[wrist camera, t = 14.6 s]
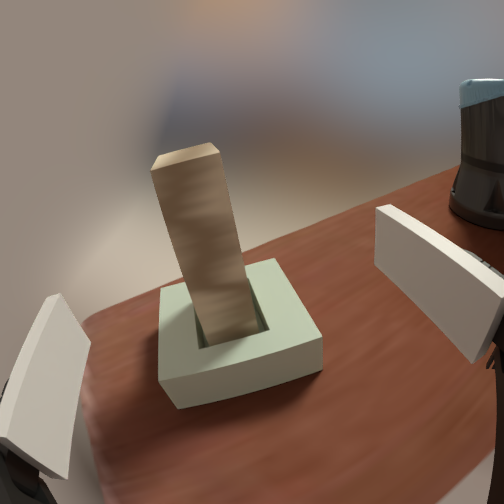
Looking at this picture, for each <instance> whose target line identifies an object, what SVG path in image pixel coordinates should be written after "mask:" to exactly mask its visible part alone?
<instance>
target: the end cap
mask: <svg viewBox="0 0 504 504" xmlns="http://www.w3.org/2000/svg"><path fill="white" fill-rule="evenodd" d="M245 271H246V275H247V280H248V284H249V289H250V293H251V298H252V302H253V307H254V311H255V315H256V320H257V324H258V329H259V333H258V334H255V335H251V336H248V337H244V338H241V339H237V340H233V341H230V342H226V343H222V344H218V345H214V346H209V344H208V341H207V339H206V336H205V334H204V331H203V329H202V326H201V324H200V321H199V318H198V316H197V313H196V310H195V308H194V305H193V302H192V300H191V297H190V294H189V291H188V289H187V286H186V283H185V282H183V283H179V284H175V285H172V286H168V287H164V288H161V294H160V313H159V340H158V382H159V383H160V385H161V386H162V388H163V389H164V391H165V392H166V394H167V395H168V396H169V398H170V399H171V401H172V402H173V403H174V405H175V406H176V408H177V409H182V408H187V407H192V406H197V405H202V404H207V403H211V402H216V401H220V400H224V399H228V398H232V397H236V396H240V395H244V394H248V393H251V392H255V391H258V390H262V389H265V388H269V387H272V386H275V385H279V384H282V383H285V382H288V381H291V380H294V379H297V378H300V377H303V376H306V375H309V374H312V373H315V372H317V371H320V370H323V342H322V335H321V333H320V332H319V330H318V328H317V327H316V325H315V323H314V322H313V320H312V318H311V317H310V315H309V314H308V312H307V310H306V309H305V307H304V305H303V304H302V302H301V300H300V299H299V297H298V295H297V294H296V292H295V291H294V289H293V287H292V286H291V284H290V282H289V281H288V279H287V278H286V276H285V274H284V273H283V271H282V269H281V268H280V266H279V265H278V263H277V261H276V260H275V258H272V259H268V260H265V261H261V262H258V263H254V264H250V265H246V266H245Z"/></svg>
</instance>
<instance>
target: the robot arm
mask: <svg viewBox="0 0 504 504" xmlns="http://www.w3.org/2000/svg"><path fill="white" fill-rule="evenodd" d="M459 90H460V105H459V108H461V164H460V167H459V170H458V173H457V175H456V178H455V181H454V184H453V187H452V189H451V191H450V200H449V206H450V208H451V209H452V210H453V211H454V212H455V213H456V214H457V215H459V216H460V217H462V218H463V219H465V220H467V221H469V222H472V223H474V224H477V225H480V226H483V227H487V228H492V229H498V230H504V80H502V79H472V80H466V81H463V83H461V85H460V89H459ZM374 265H375V266H377V267H378V268H379V269H380V270H381V271H382V272H383V273H384V274H385V275H386V276H387V277H388V278H389V279H390V280H391V281H392V282H393V283H395V284H396V285H397V286H398V287H399V288H400V289H401V290H402V291H403V292H404V293H405V294H406V295H407V296H408V297H409V298H410V299H411V300H412V301H413V302H414V303H415V304H416V305H417V306H418V307H419V308H420V309H421V310H422V311H423V312H424V313H425V314H426V315H427V316H428V317H429V318H430V319H431V320H432V321H433V322H434V323H435V324H436V325H437V327H438V328H439V329H440V330H441V331H442V332H443V333H444V334H445V335H446V336H447V337H448V338H449V339H450V340H451V341H452V343H453V344H454V345H455V346H456V347H457V348H458V349H459V350H460V351H461V352H462V353H463V355H464V356H465V357H466V358H467V359H468V360H469V361H470V362H471V364H473V363H474V362H476V361H477V360H478V359H480V358H481V357H482V356H483V355H485V354H486V352H487V350H488V348H489V346H490V344H491V342H492V341H493V342H494V343H495V344H496V347H495V349H494V351H493V353H492V355H491V357H490V358H489V360H488V362H487V364H486V369H489V367H490V365H491V364H492V362H493V360H494V361H495V363H494V365H493V367H492V369H495V373H496V392H497V424H496V443H495V455H494V464H493V472H492V479H491V485H490V490H489V496H488V501H487V504H504V275H502V274H501V273H500V272H498V271H497V270H496V269H494V268H493V267H492V268H491V266H490V265H489V264H488V263H486V262H485V261H484V262H483V260H482V259H481V258H479V257H478V256H476V255H475V254H474V253H472V252H469V251H467V250H464V249H462V248H459V247H458V246H457V245H455V244H454V243H452V242H451V241H449V240H448V239H446V238H445V237H443V236H441V235H440V234H438V233H437V232H435V231H434V230H432V229H431V228H429V227H427V226H426V225H424V224H423V223H421V222H419V221H418V220H416V219H414V218H413V217H411V216H409V215H408V214H406V213H404V212H403V211H401V210H399V209H397V208H396V207H394V206H392V205H391V204H389V205H385V206H381V207H377V208H376V228H375V259H374ZM90 344H91V342H90V340H89V339H88V337H87V336H86V334H85V333H84V331H83V329H82V328H81V326H80V325H79V323H78V322H77V320H76V318H75V317H74V315H73V313H72V312H71V310H70V308H69V307H68V305H67V303H66V302H65V300H64V298H63V296H62V295H61V293H59V294H56V295H52V296H49V297H47V298H46V300H45V302H44V304H43V306H42V308H41V310H40V312H39V314H38V315H37V317H36V319H35V321H34V323H33V325H32V327H31V329H30V332H29V334H28V336H27V338H26V340H25V342H24V344H23V347H22V349H21V351H20V354H19V356H18V358H17V361H16V363H15V366H14V368H13V370H12V373H11V376H10V378H9V379H8V381H7V382H6V384H5V386H4V389H3V392H2V397H1V398H0V504H57V502H56V500H55V499H54V497H53V495H52V494H51V492H50V490H49V488H48V487H47V485H46V483H45V482H44V481H43V479H41V478H40V477H39V471H41V472H42V473H44V474H45V475H47V476H49V477H50V478H55V479H63V480H68V471H69V460H70V450H71V442H72V434H73V427H74V421H75V415H76V409H77V403H78V398H79V393H80V388H81V383H82V378H83V373H84V369H85V365H86V360H87V356H88V352H89V348H90Z"/></svg>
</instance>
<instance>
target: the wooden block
mask: <svg viewBox="0 0 504 504" xmlns="http://www.w3.org/2000/svg"><path fill="white" fill-rule="evenodd" d="M150 172H151V176H152V179H153V183H154V187H155V190H156V193H157V197H158V200H159V204H160V207H161V210H162V214H163V217H164V220H165V223H166V226H167V229H168V232H169V236H170V239H171V242H172V245H173V248H174V251H175V254H176V257H177V260H178V263H179V266H180V269H181V272H182V275H183V277H184V280H185V283H186V286H187V289H188V291H189V294H190V297H191V300H192V302H193V305H194V308H195V310H196V313H197V316H198V318H199V321H200V324H201V326H202V329H203V331H204V334H205V336H206V339H207V341H208V344H209V346H214V345H218V344H222V343H226V342H230V341H233V340H237V339H241V338H244V337H248V336H251V335H255V334H258V333H259V329H258V324H257V320H256V315H255V311H254V307H253V302H252V298H251V293H250V289H249V284H248V280H247V275H246V271H245V266H244V262H243V257H242V253H241V248H240V244H239V239H238V234H237V230H236V225H235V221H234V216H233V211H232V207H231V202H230V198H229V193H228V188H227V183H226V179H225V174H224V169H223V165H222V160H221V155H220V152H219V151H218V150H217V149H216V148H215V147H214V146H213V145H212V144H211V143H206V144H201V145H197V146H193V147H190V148H186V149H182V150H178V151H174V152H171V153H167V154H164V155H160V156H158V158H157V160H156V161H155V163H154V165H153V167H152V169H151V170H150Z"/></svg>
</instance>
